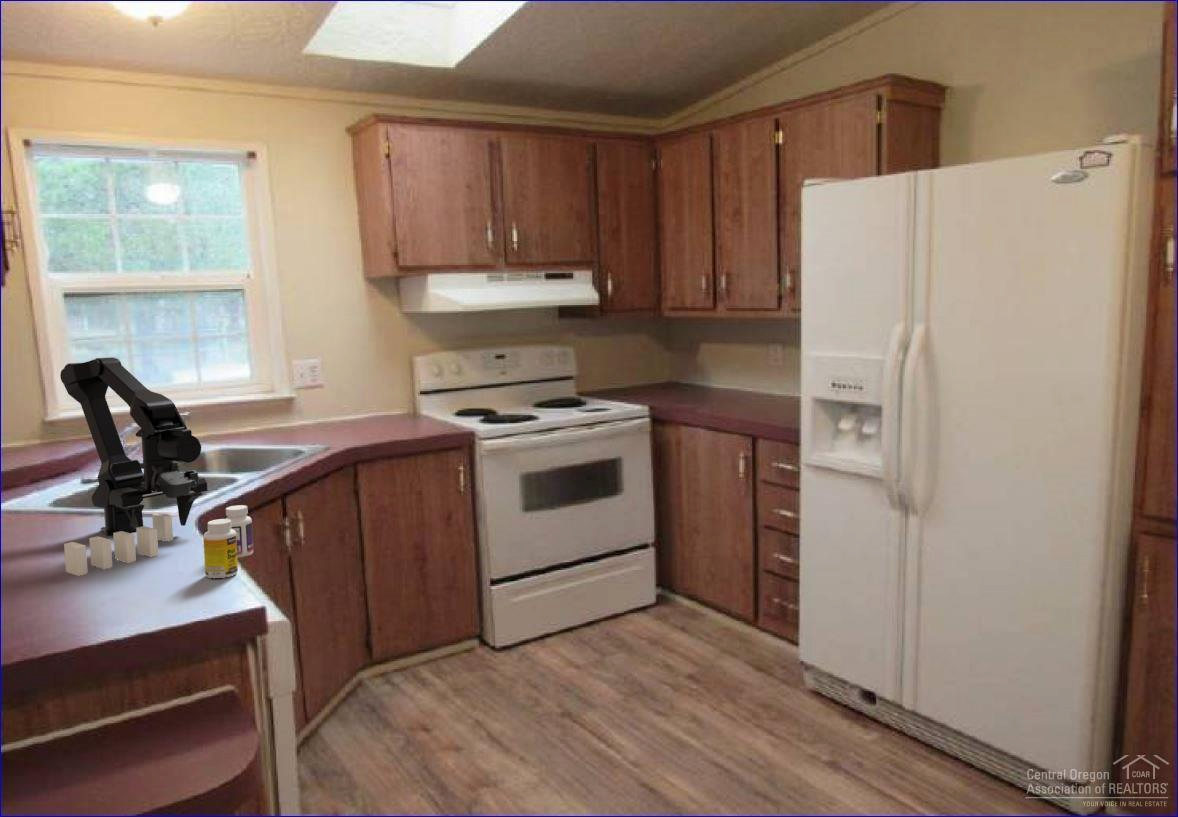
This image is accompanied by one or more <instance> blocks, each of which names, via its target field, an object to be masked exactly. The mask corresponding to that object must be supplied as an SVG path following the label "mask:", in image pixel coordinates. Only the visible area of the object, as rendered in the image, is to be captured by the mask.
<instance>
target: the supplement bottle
mask: <svg viewBox="0 0 1178 817" xmlns="http://www.w3.org/2000/svg"><path fill="white" fill-rule="evenodd" d="M231 526H232V525H231V520H229V519H226V518H219V519H213V520H210V521H208V522H207V531H206V532H205V533H204V534H203V536H202V537H203V553H204V554H203V555H204V558H203V559H204V572H205V576H206V578H208V579H211V578H214V579H213V580H216V579H215V578H223V579H226V578H225V577H228V578H231V577H233V576H232V575H234V576H236V575H237V573H238V571H239V568H238V567H239V566H238V558H237V538H236V531H235V530H233V529H231ZM230 576H231V577H230Z"/></svg>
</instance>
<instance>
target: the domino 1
mask: <svg viewBox="0 0 1178 817" xmlns="http://www.w3.org/2000/svg"><path fill="white" fill-rule="evenodd" d="M63 548H64V561H65V573H69V574H72V575H74V576H78V577H81V576H84V574H85V575H88V574H87V573H89V572H88V571H89V570H88V558H87V545H85V544H82V543H79V542H74V541H71V542H66V543H63ZM80 575H81V576H80Z"/></svg>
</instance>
